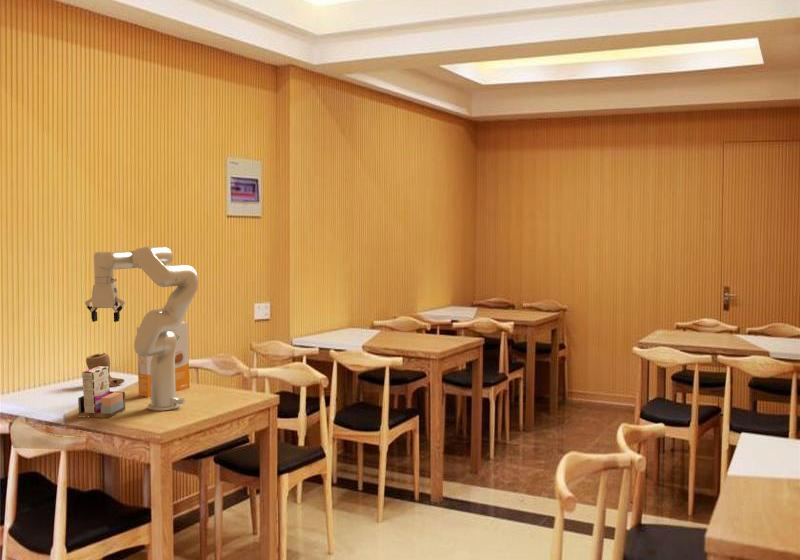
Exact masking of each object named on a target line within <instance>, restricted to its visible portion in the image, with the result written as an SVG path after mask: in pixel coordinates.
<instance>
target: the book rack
mask: <svg viewBox="0 0 800 560" xmlns="http://www.w3.org/2000/svg"><path fill="white" fill-rule="evenodd" d="M77 401H78V403H77V404H78V413H77V417H78V416H81V417H80V418H83V417H82V416H85V417H84V418H91V417H111V418H113V417H115V416H116V415H115V414H117V413H119V412H121V411H123V410H125V411H126V392H125V391H118V390H117V391H114V390H113V391H111V390H110V394H109V395H107V396H105V397H103V398H101V402H102V405H101V411H100V412H98V413H85V412H84V395H82V396H80V397H78V399H77ZM123 412H124V411H123ZM121 413H122V412H121ZM119 414H120V413H119ZM114 415H115V416H114ZM117 415H118V414H117ZM88 416H89V417H88ZM112 416H113V417H112Z"/></svg>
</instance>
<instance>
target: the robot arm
mask: <svg viewBox="0 0 800 560" xmlns="http://www.w3.org/2000/svg"><path fill="white" fill-rule="evenodd" d="M173 259H174V253H173V251H172V250H171V249H170V248H169V247H167V246H163V245H159V246H157V245H156V246H155V245H153V246H143V247H138V248H136V249H135V250H117V251H115V250H114V251H96V252H95V253H94V254H93V269H94V270H93V271H94V272H93V273H94V275H93V276H94V277H93V278H94V283H93V284H92V291H91V298H89V299H88V300H86V301H84V304H85V306H86V309H88V311H89V312H90V313H91V315H90V316H91V317H90V318H91V322H93V323H94V322H98V311H97V310H98V309H112V310H113V322H115V323H117V322H120V320H121V319H120V312H121V310H123V308H124V307H125V305H126V302H125V300H122V299H120V298H119V291H118V287H117V283H115V282H117V278H116V277H115V276H114V270H116V271H117V270H126V269H127V270H128V269H129V270H130V269H141V270H142V271H143V272H144V273H145V274H146V275H147V276H148V277H149V279H151V281H152V282H153V283H154V284H155V285H156V286H158V287H161V288H171V287H176V288H175V289H174V290H172V292H171V293H170V294H169V296H168V298H167V301H166V302H165V305H164V306H163V307H162V308H157V309H152V310H150V311H147V313H146V314H145V315H144V317H143V318H142V321H141V323H140V324H139V326H138V327H139V330H138V332H137V331H136V335H135V338H134V342H133V348H134V352H135V353H136V354H137V356H138V355H140V356H142V357H147V356H153V357H152V360H151V364H150V375H151V397H150V399H151V400H150V402H151V403H149V404H148V405H147V406H146V407H147V409H148V410H150V411H156V412H157V411H159V412H163V411H164V412H165V411H170V410H171V411H172V410H175V409H178V408H179V407H181V405H184V404H186V399H185V398H183V397H181V398H179V394H177V393H176V392H177V391H176V388H175V352H176V346H177V338H176V336H175V334H174V333H173V332H172V331H175V330H177V329H178V328H179V327H180V326H181V324H182V322H184V319H185V317H186V314H187V312H188V309H189V308H190V304H191V303H192V300H193V299H194V297H195V295H196V293H197V290H198V288H199V275H198V272H197V271H196V269H195V268H194V267H193V266H192V265H189V264H186V263H185V264H184V263H183V264H181V263H176V264H171V263H172V262H173Z"/></svg>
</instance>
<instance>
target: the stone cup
mask: <svg viewBox="0 0 800 560" xmlns="http://www.w3.org/2000/svg"><path fill="white" fill-rule="evenodd" d="M85 363H86V367H87V368H88V369H87V370H90V369H92V368H95V367H98V366H104V367H109V387H117V386H119V385H122V384H123V383H125V379H124V378H117V377H113V376H111V374H110V370H111V359H110V356H109V354H108V353H107V352H104V353H95V354H92V355H88V356H87V357H86V359H85Z"/></svg>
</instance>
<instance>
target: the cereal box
mask: <svg viewBox="0 0 800 560" xmlns="http://www.w3.org/2000/svg"><path fill="white" fill-rule="evenodd" d="M188 323H189V322H187V321H182V324H181V326H180V327H179V328H178V329H177V330H175V331H172V332H173V333H174V334H175V336H176V338H177V346H176V352H175V388H176V392H179V391H183V390H187V389H190V361H189V360H190V359H189V358H190V357H189V355H190V354H189V324H188ZM139 327H140V326H136V333H137V332H138V330H139ZM152 357H153V356H147V357H142V356H140V355H138V354H137V370H138V371H137V376H138V377H137V379H138V383H137V384H138V396H139V395H140V396H139V397H142V396H145V397H144V398H148V397H149V398H151V375H150V364H151V360H152Z"/></svg>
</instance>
